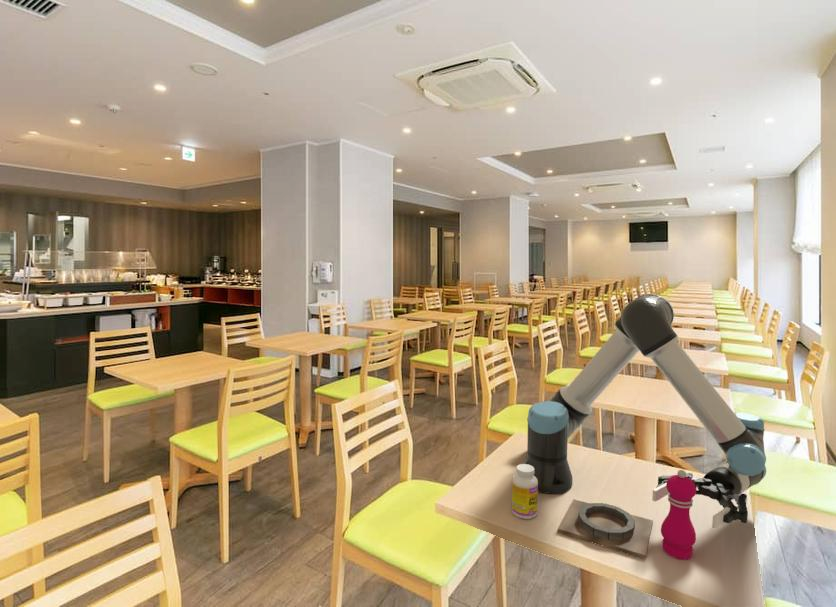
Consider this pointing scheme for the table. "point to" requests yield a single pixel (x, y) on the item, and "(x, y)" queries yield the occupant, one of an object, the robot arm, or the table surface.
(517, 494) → the supplement bottle
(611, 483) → the table surface
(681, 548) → the pepper mill
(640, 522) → the mill stand
